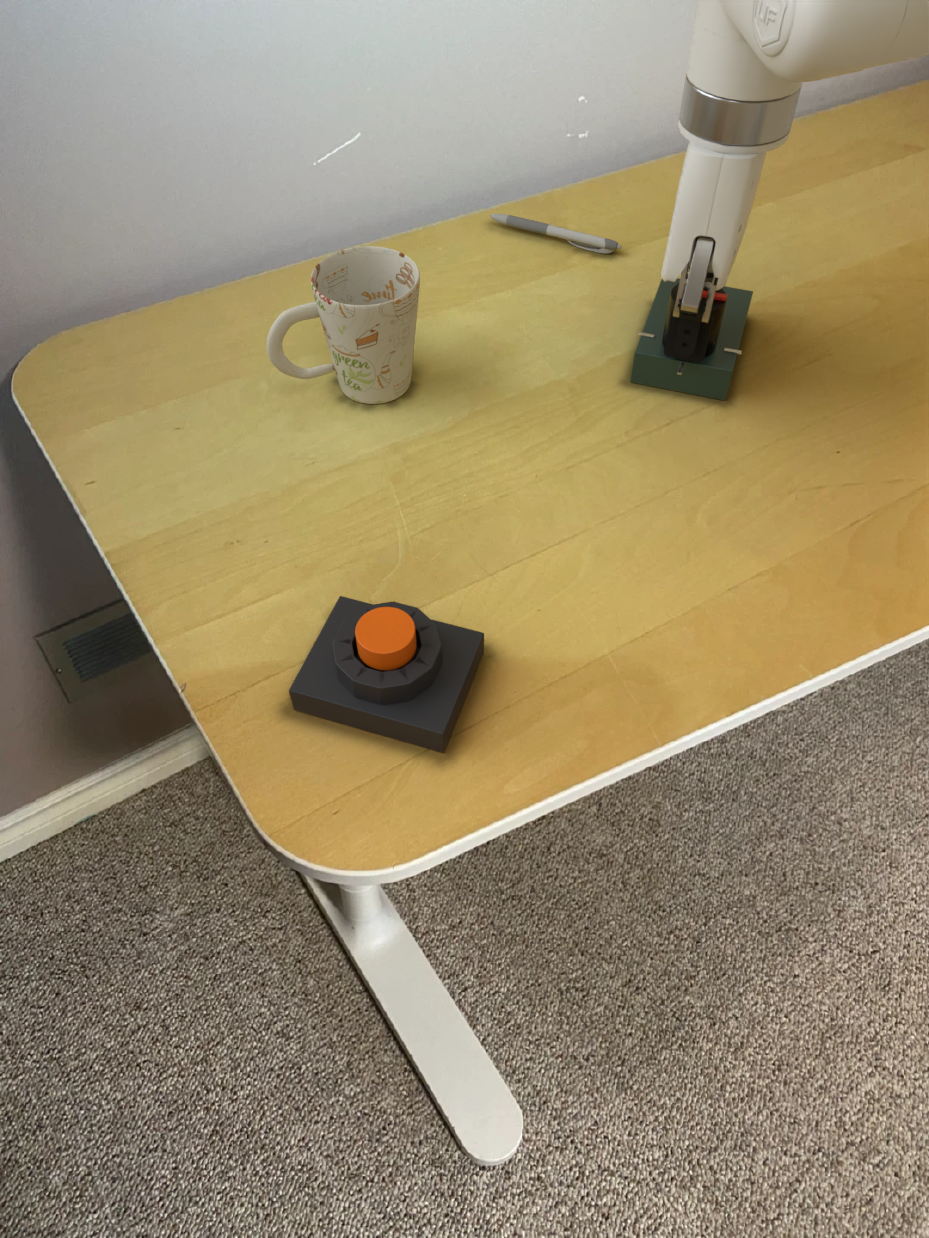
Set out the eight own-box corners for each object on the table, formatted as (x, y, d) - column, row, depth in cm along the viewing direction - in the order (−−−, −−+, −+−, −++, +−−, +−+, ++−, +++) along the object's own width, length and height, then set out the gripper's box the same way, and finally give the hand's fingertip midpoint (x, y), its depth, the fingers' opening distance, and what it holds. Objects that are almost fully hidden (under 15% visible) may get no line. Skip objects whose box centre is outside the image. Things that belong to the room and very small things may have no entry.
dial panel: (654, 304, 88) (659, 273, 86) (749, 321, 86) (757, 289, 84) (621, 394, 80) (626, 362, 77) (725, 415, 78) (733, 383, 76)
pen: (618, 258, 93) (620, 245, 92) (487, 226, 97) (487, 213, 96) (622, 253, 93) (623, 240, 92) (491, 222, 97) (491, 208, 96)
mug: (439, 399, 79) (435, 291, 72) (291, 437, 77) (271, 329, 69) (405, 344, 84) (398, 237, 77) (265, 377, 81) (244, 270, 74)
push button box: (484, 653, 63) (484, 614, 60) (444, 753, 58) (442, 717, 55) (343, 616, 65) (336, 577, 62) (293, 710, 60) (283, 673, 57)
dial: (657, 353, 78) (666, 301, 74) (667, 323, 81) (677, 272, 77) (711, 364, 77) (723, 311, 74) (719, 333, 80) (732, 281, 76)
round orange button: (424, 632, 59) (423, 614, 58) (404, 677, 57) (402, 659, 56) (370, 618, 60) (368, 600, 59) (348, 662, 58) (345, 644, 57)
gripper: (704, 52, 70) (664, 277, 85) (656, 155, 60) (621, 391, 75) (808, 65, 69) (750, 292, 83) (777, 173, 59) (717, 411, 73)
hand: (689, 337), depth 79 cm, fingers closed on dial, 4 cm apart
